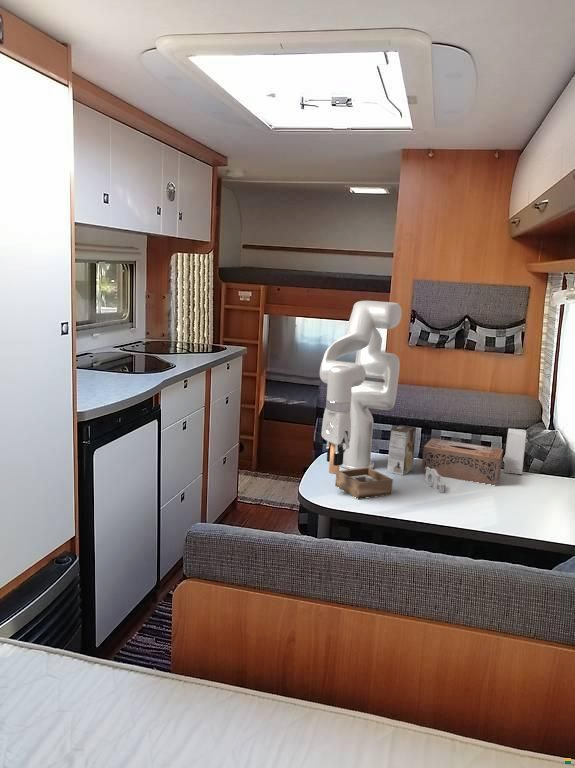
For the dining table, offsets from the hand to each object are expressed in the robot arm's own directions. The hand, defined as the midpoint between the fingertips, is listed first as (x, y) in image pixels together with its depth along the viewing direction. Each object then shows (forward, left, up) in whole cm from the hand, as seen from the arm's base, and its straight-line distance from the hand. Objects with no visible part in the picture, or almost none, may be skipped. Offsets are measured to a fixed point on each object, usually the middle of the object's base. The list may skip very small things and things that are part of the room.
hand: (334, 462), depth 192 cm
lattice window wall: (+6, +36, -11) cm, 38 cm away
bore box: (0, +11, -10) cm, 15 cm away
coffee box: (-12, +36, -10) cm, 40 cm away
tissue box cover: (-2, +56, -11) cm, 58 cm away
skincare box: (+2, +78, -10) cm, 79 cm away
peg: (0, 0, -3) cm, 3 cm away
